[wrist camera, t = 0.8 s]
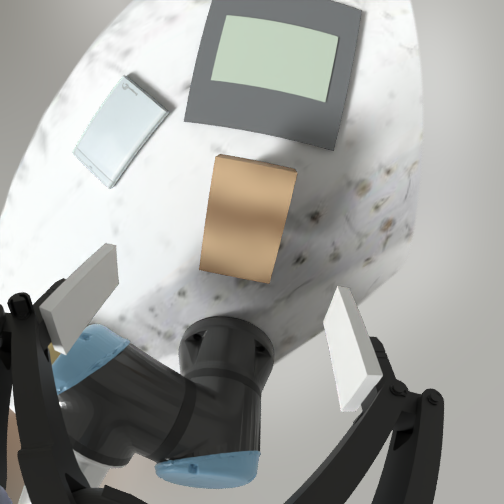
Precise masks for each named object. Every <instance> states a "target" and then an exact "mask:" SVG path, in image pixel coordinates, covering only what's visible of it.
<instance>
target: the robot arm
mask: <svg viewBox="0 0 504 504" xmlns="http://www.w3.org/2000/svg"><path fill="white" fill-rule="evenodd" d="M118 284H119V280H118V268H117V254H116V245H112V244H107V243H105V244H104V245H103V246H102V247H101V248H99V249H98V250H97V251H96V252H95V253H94V254H93V255H92V256H91V257H89V258H88V259H87V260H86V261H85V262H84V263H83V264H82V265H81V266H80V267H79V268H78V269H77V270H75V271H74V272H73V273H72V274H71V275H70V276H69V277H68V278H67V279H64V278H63V279H61V280H59V281H57V282H55V283H54V284H53V285H52V286H51V287H50V289H48V290H47V291H46V293H44V294H43V295H42V296H41V297H40V298H39V299H38V300H37V301H36V302H35V303H34V304H33V305H32V302H31V298H30V296H29V295H28V294H27V293H24V292H23V293H17V294H14V295H13V296H11V297H10V299H9V300H8V302H7V304H8V307H9V309H10V312H11V313H5V312H4V309H3V307H2V305H0V504H13V503H12V501H11V499H10V498H9V497H8V495H7V493H6V491H5V490H6V481H7V427H8V415H9V405H10V397H11V390H12V384H13V396H14V405H15V413H16V420H17V426H18V432H19V437H20V442H21V450H19V451H18V461H19V465H20V469H21V473H22V476H23V480H24V483H25V485H24V488H23V491H22V494H21V497H20V500H19V503H18V504H147V503H146V502H144V501H142V500H140V499H138V498H137V497H135V496H133V495H131V494H128V493H126V492H123V491H120V490H117V489H115V488H112V487H109V486H107V485H105V486H104V488H99V486H100V484H101V483H102V481H103V479H104V477H105V476H106V474H107V472H108V470H109V469H110V468H122V467H124V466H126V465H127V464H128V463H129V461H130V459H131V458H132V456H133V455H134V453H137V454H139V455H142V456H144V457H146V458H149V459H151V460H153V461H155V462H156V463H157V464H156V465H155V470H156V474H157V475H158V476H159V477H160V478H163V479H164V480H165V481H168V482H171V483H174V484H179V485H183V486H189V487H196V488H208V489H222V488H233V487H239V486H243V485H245V484H248V483H250V482H251V481H252V480H253V479H254V478H255V477H256V474H257V468H258V461H259V456H260V455H261V453H260V428H261V393H262V390H263V388H264V386H265V384H266V382H267V379H268V377H269V375H270V373H271V370H272V367H273V362H274V352H273V346H272V343H271V341H270V340H269V338H268V337H267V336H266V334H265V333H264V332H262V331H261V330H260V329H259V328H257V327H256V326H254V325H252V324H250V323H248V322H245V321H242V320H239V319H235V318H229V317H213V318H207V319H203V320H200V321H198V322H196V323H194V324H193V325H191V326H190V327H189V328H188V329H187V330H186V331H185V333H184V335H183V337H182V340H181V343H180V346H179V364H180V374H179V373H177V372H175V371H174V370H172V369H170V368H169V367H167V366H165V365H164V364H162V363H160V362H159V361H157V360H156V359H154V358H152V357H151V356H149V355H148V354H146V353H145V352H143V351H142V350H140V349H139V348H137V347H136V346H134V345H133V344H131V343H130V341H129V340H128V339H124V338H122V337H120V336H119V335H117V334H116V333H114V332H113V331H111V330H110V329H108V328H107V327H105V326H103V325H101V324H92V325H89V326H87V325H88V324H89V322H90V321H91V320H92V318H93V317H94V316H95V314H96V313H97V312H98V310H99V309H100V308H101V306H102V305H103V304H104V302H105V301H106V300H107V298H108V297H109V296H110V295H111V293H112V292H113V291H114V290H115V288H116V287H117V286H118ZM323 324H324V329H325V333H326V338H327V343H328V347H329V352H330V356H331V362H332V366H333V372H334V377H335V382H336V387H337V392H338V398H339V403H340V409H341V412H346V411H356V410H357V409H358V407H359V406H360V405H361V406H362V410H363V411H362V413H361V414H360V415H359V416H358V417H357V418H356V419H355V421H354V422H353V425H352V426H351V428H350V429H349V430H348V432H347V433H346V434H345V436H344V437H343V438H342V440H341V441H340V442H339V443H338V445H337V446H336V447H335V449H334V450H333V451H332V452H331V453H330V455H329V456H328V457H327V458H326V460H325V461H324V462H323V463H322V464H321V465H320V466H319V467H318V469H317V470H316V471H315V472H314V473H313V474H312V475H311V477H309V479H308V480H307V481H306V482H305V483H304V484H303V485H302V486H301V487H300V488H299V489H298V490H297V491H296V492H295V493H294V494H293V495H292V496H291V497H290V498H289V499H288V500H287V501H286V502H285V503H284V504H344V503H345V502H346V501H347V499H348V498H349V497H350V495H351V494H352V492H353V491H354V490H355V488H356V487H357V485H358V484H359V483H360V481H361V480H362V478H363V477H364V476H365V474H366V472H367V471H368V469H369V468H370V466H371V465H372V463H373V462H374V460H375V459H376V457H377V455H378V454H379V452H380V450H381V449H382V447H383V445H384V443H385V442H386V440H387V438H388V436H389V434H390V432H391V431H392V430H393V433H392V437H391V441H390V445H389V450H388V454H387V457H386V461H385V464H384V468H383V471H382V475H381V478H380V481H379V484H378V487H377V490H376V493H375V495H374V498H373V501H372V504H433V500H434V496H435V490H436V485H437V480H438V473H439V466H440V459H441V450H442V438H443V421H444V400H443V397H442V395H441V394H440V393H439V392H438V391H436V390H435V389H426V390H425V391H424V392H423V393H422V394H417V393H413V392H409V391H408V388H407V387H406V385H405V384H404V383H403V382H401V381H399V380H397V379H396V378H395V375H394V372H393V370H392V367H391V365H390V362H389V360H388V357H387V354H386V353H385V349H384V347H383V344H382V343H381V342H380V341H379V340H378V339H377V337H369V336H368V333H367V330H366V327H365V325H364V322H363V320H362V317H361V315H360V313H359V310H358V307H357V305H356V302H355V300H354V298H353V295H352V293H351V291H350V288H348V287H342V286H337V288H336V291H335V293H334V296H333V299H332V301H331V304H330V306H329V309H328V311H327V314H326V316H325V319H324V321H323ZM86 326H87V327H86ZM51 342H52V345H53V347H54V350H55V351H58V352H60V353H61V354H60V355H59V357H58V358H57V359H56V360H55V362H54V363H53V364H51V357H50V351H49V348H48V346H49V345H50V343H51Z"/></svg>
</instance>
